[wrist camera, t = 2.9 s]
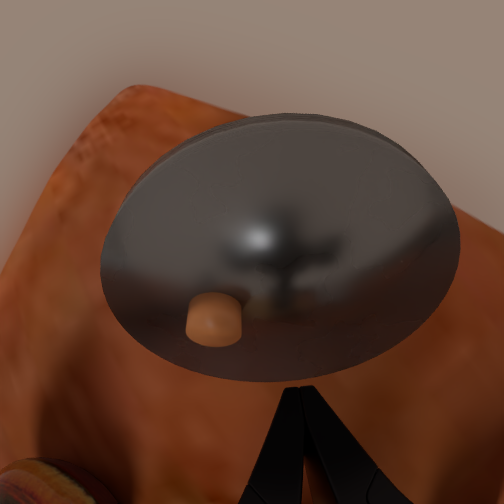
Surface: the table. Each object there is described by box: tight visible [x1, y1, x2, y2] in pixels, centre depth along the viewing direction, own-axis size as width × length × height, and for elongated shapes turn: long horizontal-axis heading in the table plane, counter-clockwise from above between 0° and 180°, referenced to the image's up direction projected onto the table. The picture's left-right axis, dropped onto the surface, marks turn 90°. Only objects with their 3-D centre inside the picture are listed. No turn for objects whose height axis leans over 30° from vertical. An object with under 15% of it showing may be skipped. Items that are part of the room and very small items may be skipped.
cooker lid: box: [100, 113, 460, 382], centre depth 11 cm, size 13×13×2 cm
